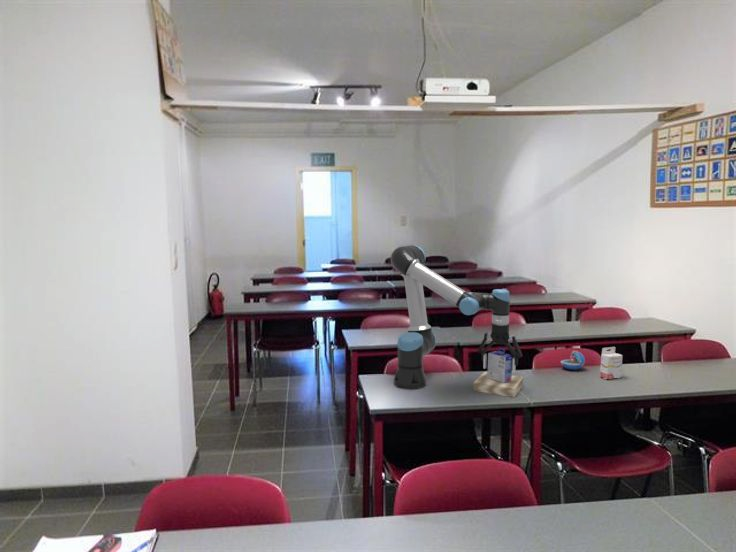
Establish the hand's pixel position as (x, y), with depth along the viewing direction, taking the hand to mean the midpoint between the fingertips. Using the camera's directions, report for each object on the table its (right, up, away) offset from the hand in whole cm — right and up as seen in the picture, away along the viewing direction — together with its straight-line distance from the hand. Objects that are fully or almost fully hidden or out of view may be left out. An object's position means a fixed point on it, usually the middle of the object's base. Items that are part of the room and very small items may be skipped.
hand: (499, 369), depth 223 cm
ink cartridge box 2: (+58, -7, +14) cm, 60 cm away
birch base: (0, -8, +1) cm, 9 cm away
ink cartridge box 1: (0, -5, 0) cm, 5 cm away
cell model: (+45, -5, +28) cm, 54 cm away
